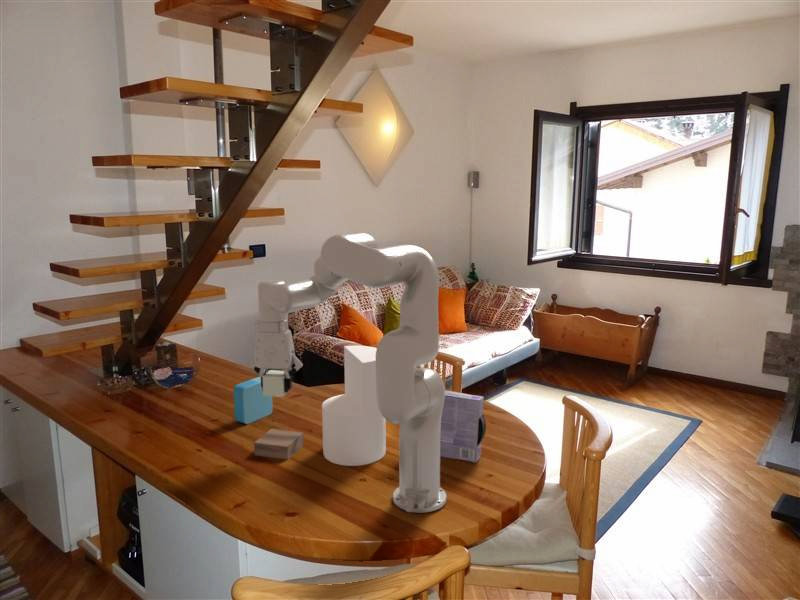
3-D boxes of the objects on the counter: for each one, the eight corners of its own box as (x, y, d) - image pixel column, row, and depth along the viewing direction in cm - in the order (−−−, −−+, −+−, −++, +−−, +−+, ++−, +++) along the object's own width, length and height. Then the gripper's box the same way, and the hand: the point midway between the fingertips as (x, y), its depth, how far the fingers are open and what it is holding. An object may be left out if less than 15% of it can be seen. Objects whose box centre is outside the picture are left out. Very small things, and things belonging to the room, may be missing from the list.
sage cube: (283, 396, 163) (282, 377, 162) (263, 395, 164) (262, 376, 163) (289, 390, 168) (288, 371, 167) (270, 389, 169) (269, 370, 168)
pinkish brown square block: (287, 460, 163) (287, 446, 163) (254, 456, 166) (254, 442, 165) (303, 445, 173) (303, 432, 172) (272, 441, 176) (271, 428, 175)
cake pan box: (485, 456, 165) (487, 394, 161) (480, 464, 160) (482, 400, 157) (419, 445, 172) (419, 385, 169) (413, 452, 167) (413, 391, 164)
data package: (263, 410, 198) (261, 375, 196) (273, 413, 196) (271, 378, 194) (234, 422, 189) (232, 385, 186) (244, 425, 186) (242, 388, 184)
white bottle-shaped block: (374, 434, 179) (373, 343, 174) (394, 459, 163) (394, 359, 158) (316, 443, 173) (313, 349, 168) (332, 470, 157) (329, 366, 152)
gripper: (237, 328, 160) (241, 393, 163) (300, 330, 157) (302, 396, 161) (248, 321, 167) (252, 384, 171) (309, 323, 165) (310, 387, 168)
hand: (276, 389), depth 166 cm, fingers closed on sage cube, 5 cm apart
